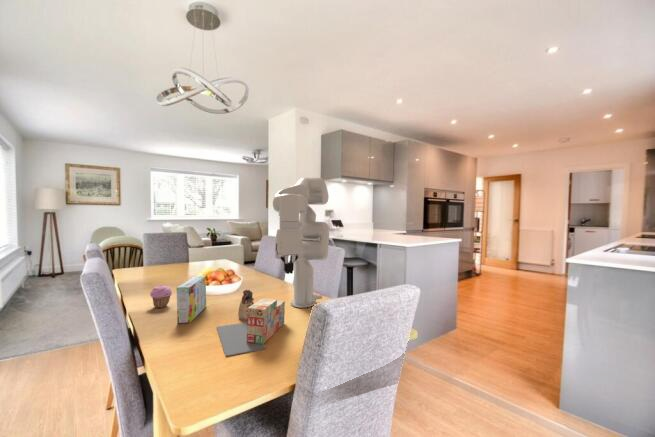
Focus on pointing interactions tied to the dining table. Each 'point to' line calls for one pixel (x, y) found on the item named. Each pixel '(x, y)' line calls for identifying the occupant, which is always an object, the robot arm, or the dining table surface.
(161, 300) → the cupcake
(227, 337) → the mat
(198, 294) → the snack box
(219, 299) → the dining table surface
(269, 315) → the stack of blocks
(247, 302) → the figurine
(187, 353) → the dining table surface
